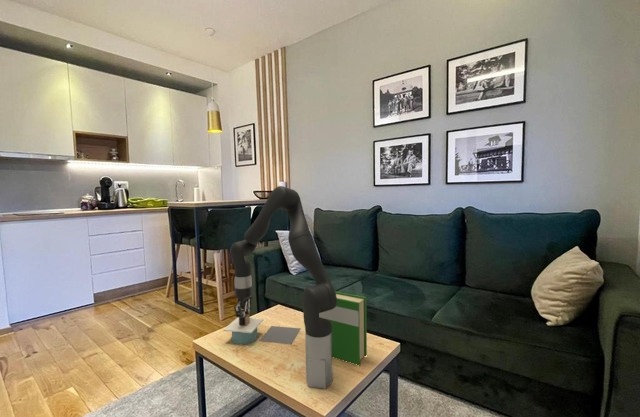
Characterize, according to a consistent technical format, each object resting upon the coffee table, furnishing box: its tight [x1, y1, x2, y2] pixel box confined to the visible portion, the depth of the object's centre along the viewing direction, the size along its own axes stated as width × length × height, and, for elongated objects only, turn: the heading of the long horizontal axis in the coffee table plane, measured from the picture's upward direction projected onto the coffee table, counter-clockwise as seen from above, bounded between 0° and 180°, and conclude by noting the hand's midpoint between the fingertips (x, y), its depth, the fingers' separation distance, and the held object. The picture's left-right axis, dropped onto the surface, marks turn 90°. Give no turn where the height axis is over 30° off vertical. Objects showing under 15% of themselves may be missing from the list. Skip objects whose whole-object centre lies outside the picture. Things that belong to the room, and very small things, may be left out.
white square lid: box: [223, 312, 264, 333], centre depth 130 cm, size 13×13×5 cm
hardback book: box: [319, 290, 368, 366], centre depth 116 cm, size 18×7×24 cm, turn 58°
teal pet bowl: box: [231, 327, 258, 346], centre depth 130 cm, size 11×11×6 cm
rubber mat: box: [259, 325, 302, 345], centre depth 133 cm, size 15×15×1 cm
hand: (244, 322), depth 130 cm, fingers closed on white square lid, 3 cm apart
